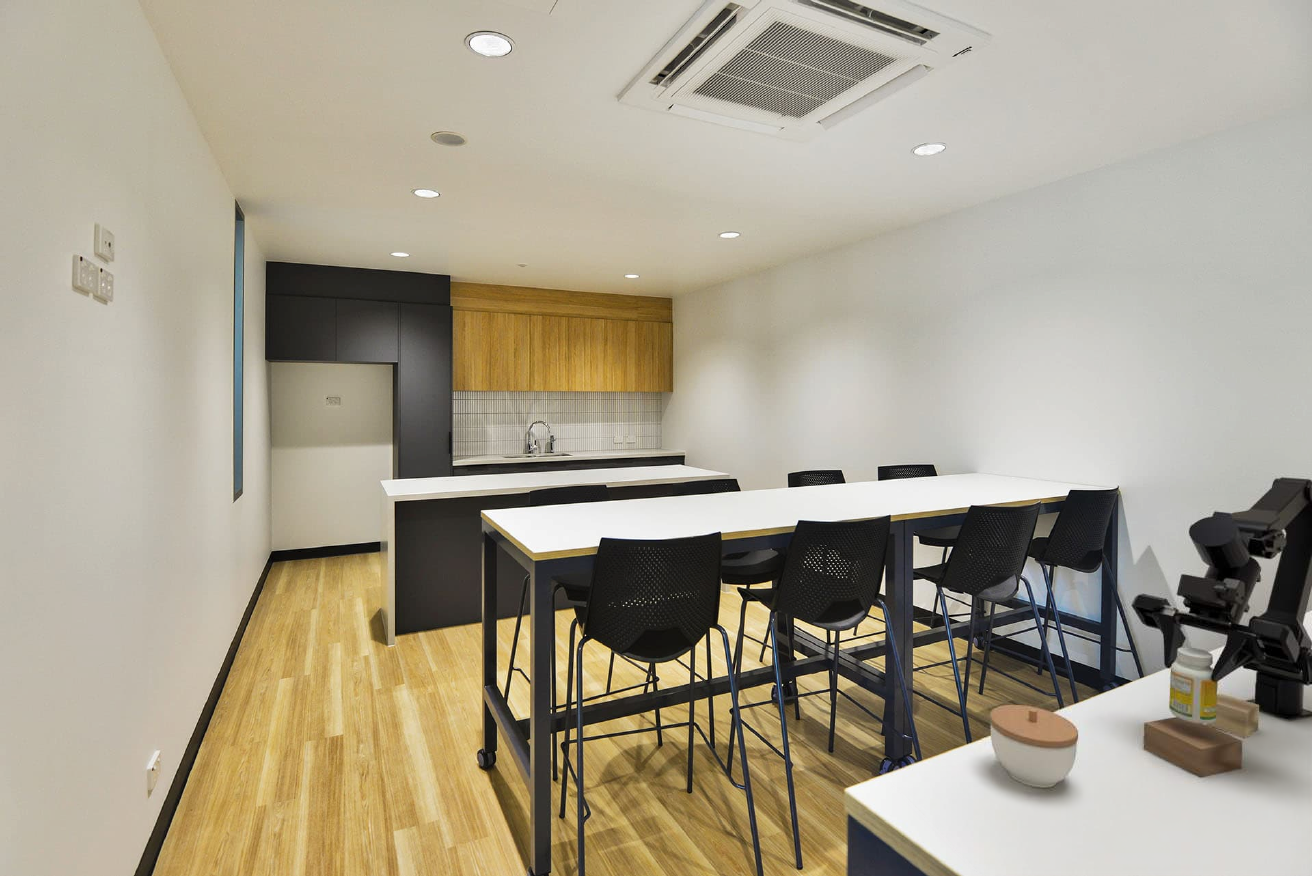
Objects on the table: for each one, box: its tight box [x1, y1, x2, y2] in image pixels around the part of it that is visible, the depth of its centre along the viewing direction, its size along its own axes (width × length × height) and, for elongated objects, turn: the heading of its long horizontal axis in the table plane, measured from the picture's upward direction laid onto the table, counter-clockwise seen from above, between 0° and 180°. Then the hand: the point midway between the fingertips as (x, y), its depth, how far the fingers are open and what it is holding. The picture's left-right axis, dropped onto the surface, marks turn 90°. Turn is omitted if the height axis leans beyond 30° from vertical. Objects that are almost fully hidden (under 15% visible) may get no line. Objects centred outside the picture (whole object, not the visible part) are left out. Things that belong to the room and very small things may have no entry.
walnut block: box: [1143, 716, 1243, 778], centre depth 97 cm, size 8×8×4 cm
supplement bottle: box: [1168, 646, 1219, 725], centre depth 96 cm, size 5×5×10 cm
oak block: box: [1205, 693, 1260, 739], centre depth 106 cm, size 5×5×4 cm
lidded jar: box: [989, 704, 1079, 789], centre depth 92 cm, size 11×11×9 cm
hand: (1189, 673), depth 96 cm, fingers closed on supplement bottle, 5 cm apart
